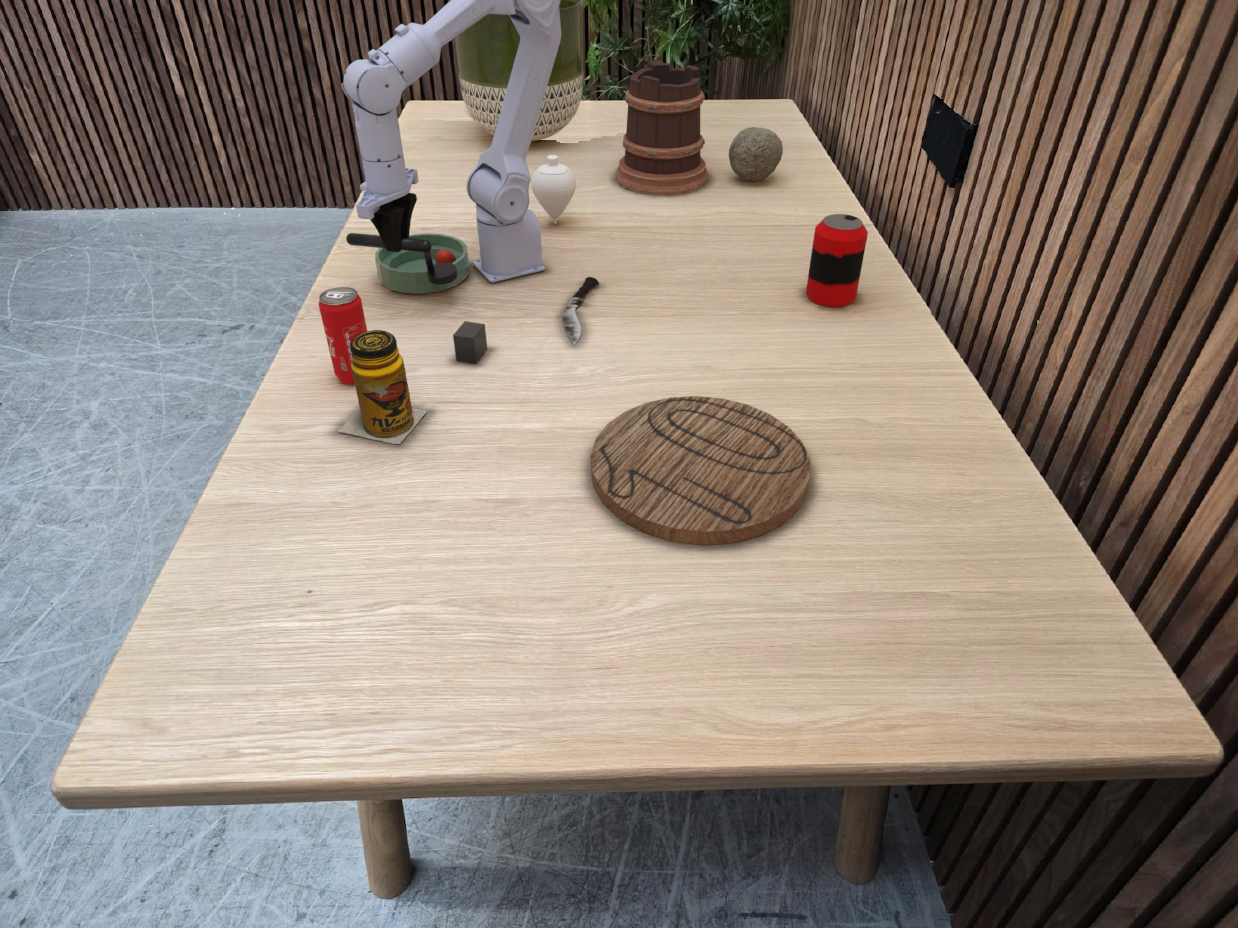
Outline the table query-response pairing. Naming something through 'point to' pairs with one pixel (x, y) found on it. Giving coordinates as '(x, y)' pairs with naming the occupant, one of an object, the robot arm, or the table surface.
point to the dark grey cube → (470, 342)
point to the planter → (490, 63)
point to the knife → (569, 314)
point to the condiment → (380, 390)
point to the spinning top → (553, 186)
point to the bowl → (420, 265)
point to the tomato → (444, 257)
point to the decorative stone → (755, 153)
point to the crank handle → (436, 273)
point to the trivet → (700, 470)
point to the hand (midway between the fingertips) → (397, 247)
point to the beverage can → (342, 327)
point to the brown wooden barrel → (663, 132)
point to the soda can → (836, 260)
